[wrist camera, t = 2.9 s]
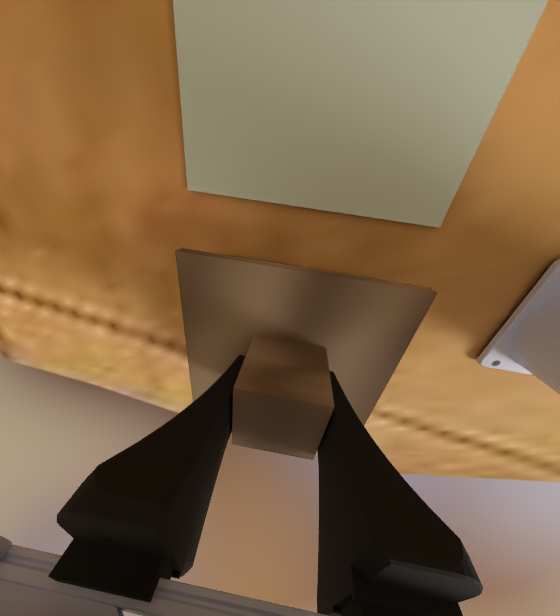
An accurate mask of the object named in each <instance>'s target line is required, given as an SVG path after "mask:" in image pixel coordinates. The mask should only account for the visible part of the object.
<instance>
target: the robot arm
mask: <svg viewBox="0 0 560 616" xmlns="http://www.w3.org/2000/svg"><path fill="white" fill-rule="evenodd" d="M245 357H246V356H244V355H239V356H238V357H237V358H236V359H235V360H234V362H233V363H232V364H231V365H230V366H229V368H228V369H227V370H226V371H225V372H224V373H223V374H222V375H221V376H220V377H219V378H218V379H217V380H216V382H215V383H214V384H212V385H211V386H210V387H209V388H208V389H207V390H206V391H205V392H204V393H203V394H202V395H201V396H200V397H199V398H197V399H196V400H195V401H194V402H193V403H192V404H190V405H189V406H188V407H187V408H185V409H184V410H183V411H182V412H180V413H179V414H178V415H176V416H175V417H174V418H173V419H171V420H170V421H168V422H167V423H166V424H164V425H163V426H161V427H160V428H158V429H157V430H155V431H154V432H152V433H151V434H149V435H148V436H146V437H145V438H143V439H142V440H140V441H139V442H137V443H135V444H134V445H132V446H130V447H129V448H127V449H125V450H124V451H122V452H120V453H118V454H117V455H115V456H113V457H112V458H110V459H108V460H107V461H105V462H103V463H101V464H100V465H98V466H97V467H96V469H95V470H94V471H93V472H92V473H91V474H90V475H89V476H88V477H87V478H86V480H85V481H84V482H83V483H82V484H81V485H80V487H79V488H78V489H77V490H76V492H75V493H74V494H73V495H72V497H71V498H70V499H69V500H68V502H67V503H66V504H65V506H64V507H63V508H62V509H61V510H60V512H59V513H58V514H57V523H58V524H59V525H60V526H61V527H62V528H63V529H64V530H65V531H66V532H67V533H68V534H70V535H71V536H72V537H73V538H74V539H73V541H72V542H71V543H70V545H69V547H68V548H67V549H66V551H65V552H64V554H63V555H62V556H61V555H57V554H52V553H47V552H43V551H39V550H34V549H30V548H25V547H21V546H17V545H12V542H11V541H9V540H8V539H6V538H4V537H2V536H0V616H124V615H123V612H122V611H125V612H130V613H134V614H138V615H143V616H463V615H462V612H461V610H460V607H459V604H458V602H461V601H464V600H467V599H470V598H473V597H476V596H478V595H480V594H481V592H482V589H483V586H482V584H481V582H480V580H479V578H478V576H477V573H476V571H475V569H474V566H473V564H472V562H471V560H470V557H469V555H468V553H467V552H466V550H465V548H464V546H463V544H462V542H461V540H460V538H459V537H458V536H457V535H456V534H455V533H454V532H453V531H452V530H451V529H450V528H449V527H448V526H447V525H446V524H445V523H444V522H443V521H442V520H441V519H440V518H439V517H438V516H437V515H436V514H435V513H434V512H433V511H432V510H431V509H430V508H429V507H428V506H427V505H426V503H425V502H424V501H423V500H422V499H421V498H420V497H419V496H418V495H417V493H416V492H415V491H414V490H413V489H412V488H411V487H410V486H409V484H408V483H407V482H406V481H405V480H404V479H403V477H402V476H401V475H400V474H399V472H398V471H397V470H396V469H395V468H394V466H393V465H392V464H391V463H390V462H389V460H388V459H387V458H386V456H385V455H384V454H383V452H382V451H381V450H380V449H379V447H378V446H377V444H376V443H375V442H374V440H373V439H372V437H371V436H370V435H369V433H368V432H367V430H366V429H365V427H364V426H363V424H362V422H361V421H360V419H359V418H358V416H357V414H356V413H355V411H354V409H353V408H352V406H351V404H350V402H349V401H348V399H347V397H346V395H345V393H344V391H343V389H342V388H341V386H340V384H339V382H338V380H337V377H336V375H335V373H334V372H333V371H329V372H330V379H331V386H332V393H333V400H334V410H333V412H332V415H331V417H330V419H329V422H328V424H327V427H326V429H325V432H324V434H323V437H322V439H321V442H320V444H319V447H318V449H317V450H318V463H319V552H318V587H317V613H315V612H310V611H306V610H302V609H297V608H293V607H288V606H284V605H279V604H275V603H271V602H266V601H262V600H257V599H252V598H248V597H244V596H239V595H235V594H230V593H226V592H222V591H217V590H213V589H208V588H203V587H199V586H195V585H190V584H186V583H181V582H177V581H172V580H170V578H171V577H173V578H178V579H179V578H180V577H181V576H183V575H184V574H185V573H187V572H188V571H189V570H190V569H191V567H192V566H193V562H194V559H195V555H196V551H197V548H198V544H199V540H200V536H201V532H202V529H203V525H204V521H205V518H206V514H207V510H208V507H209V503H210V500H211V496H212V493H213V489H214V485H215V481H216V479H217V475H218V471H219V468H220V465H221V461H222V458H223V455H224V451H225V448H226V445H227V442H228V439H229V437H230V434H231V432H232V417H233V388H234V385H235V383H236V380H237V377H238V375H239V372H240V370H241V367H242V365H243V362H244V359H245ZM477 362H478V363H479V364H480V365H481V366H484V367H489V368H495V369H501V370H507V371H512V372H518V373H524V374H530V375H534V376H536V377H537V378H538V379H540V380H541V381H542V382H544V383H545V384H546V385H548V386H549V387H550V388H552V389H553V390H554V391H556V392H557V393H558V394H560V259H558V260H556V261H555V262H554V263H553V264H552V265H551V266H550V267H549V268H548V270H547V271H546V272H545V273H544V275H543V276H542V277H541V278H540V280H539V281H538V282H537V284H536V285H535V286H534V287H533V289H532V290H531V291H530V292H529V294H528V295H527V296H526V297H525V299H524V300H523V301H522V302H521V304H520V305H519V306H518V308H517V309H516V310H515V311H514V313H513V314H512V315H511V316H510V318H509V319H508V320H507V321H506V323H505V324H504V325H503V326H502V328H501V329H500V330H499V332H498V333H497V334H496V335H495V337H494V338H493V339H492V340H491V342H490V343H489V344H488V345H487V347H486V348H485V349H484V351H483V352H482V353H481V354H480V356H479V357H478V359H477Z"/></svg>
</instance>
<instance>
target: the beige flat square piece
mask: <svg viewBox="0 0 560 616" xmlns="http://www.w3.org/2000/svg"><path fill="white" fill-rule="evenodd" d="M547 2H548V0H173V10H174V23H175V36H176V49H177V62H178V74H179V87H180V100H181V113H182V126H183V139H184V152H185V165H186V178H187V190H190V191H197V192H204V193H210V194H217V195H224V196H231V197H237V198H244V199H251V200H257V201H264V202H271V203H278V204H284V205H291V206H298V207H304V208H311V209H318V210H324V211H331V212H338V213H345V214H351V215H358V216H365V217H371V218H378V219H385V220H391V221H398V222H405V223H412V224H418V225H425V226H432V227H438V228H440V226H441V224H442V222H443V220H444V218H445V216H446V214H447V212H448V210H449V207H450V205H451V203H452V201H453V199H454V197H455V195H456V193H457V191H458V189H459V187H460V184H461V182H462V180H463V178H464V176H465V174H466V172H467V170H468V168H469V166H470V163H471V161H472V159H473V157H474V155H475V153H476V151H477V149H478V147H479V145H480V143H481V140H482V138H483V136H484V134H485V132H486V130H487V128H488V126H489V124H490V122H491V120H492V117H493V115H494V113H495V111H496V109H497V107H498V105H499V103H500V101H501V99H502V97H503V94H504V92H505V90H506V88H507V86H508V84H509V82H510V80H511V78H512V76H513V73H514V71H515V69H516V67H517V65H518V63H519V61H520V59H521V57H522V55H523V53H524V50H525V48H526V46H527V44H528V42H529V40H530V38H531V36H532V34H533V32H534V30H535V27H536V25H537V23H538V21H539V19H540V17H541V15H542V13H543V11H544V9H545V6H546V4H547Z"/></svg>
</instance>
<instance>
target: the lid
mask: <svg viewBox="0 0 560 616" xmlns="http://www.w3.org/2000/svg"><path fill="white" fill-rule="evenodd" d="M175 253H176V261H177V270H178V278H179V287H180V295H181V304H182V312H183V321H184V329H185V338H186V346H187V355H188V363H189V372H190V380H191V388H192V397H193V402H194V401H195V400H196V399H197V398H199V397H200V396H201V395H202V394H203V393H204V392H205V391H206V390H207V389H208V388H209V387H210V386H211V385H212V384H214V383H215V382H216V380H217V379H218V378H219V377H220V376H221V375H222V374H223V373H224V372H225V371H226V370H227V369H228V368H229V366H230V365H231V364H232V363H233V362H234V360H235V359H236V358H237V357H238V356H239V355H244V356H246V357H245V359H244V362H243V365H242V367H241V370H240V372H239V375H238V377H237V380H236V383H235V385H234V388H233V417H232V444H234V445H240V446H244V447H249V448H254V449H259V450H264V451H270V452H274V453H280V454H285V455H290V456H295V457H300V458H306V459H310V460H313V459H314V457H315V454H316V452H317V449H318V447H319V444H320V442H321V439H322V437H323V434H324V432H325V429H326V427H327V424H328V422H329V419H330V417H331V415H332V412H333V410H334V400H333V393H332V386H331V379H330V372H329V371H333V372H334V373H335V375H336V377H337V380H338V382H339V384H340V386H341V388H342V389H343V391H344V393H345V395H346V397H347V399H348V401H349V402H350V404H351V406H352V408H353V409H354V411H355V413H356V414H357V416H358V418H359V419H360V421H361V422H362V424H363V426H364V425H365V423H366V421H367V419H368V418H369V416H370V414H371V412H372V410H373V409H374V407H375V405H376V403H377V401H378V400H379V398H380V396H381V394H382V392H383V391H384V389H385V387H386V385H387V383H388V381H389V380H390V378H391V376H392V374H393V372H394V371H395V369H396V367H397V365H398V363H399V362H400V360H401V358H402V356H403V354H404V353H405V351H406V349H407V347H408V345H409V344H410V342H411V340H412V338H413V336H414V334H415V333H416V331H417V329H418V327H419V325H420V324H421V322H422V320H423V318H424V316H425V315H426V313H427V311H428V309H429V307H430V306H431V304H432V302H433V300H434V298H435V296H436V295H437V292H435V291H434V290H432V289H431V288H427V287H421V286H415V285H409V284H402V283H396V282H390V281H384V280H377V279H371V278H365V277H359V276H352V275H346V274H340V273H334V272H327V271H321V270H315V269H309V268H302V267H296V266H290V265H284V264H277V263H271V262H265V261H259V260H252V259H246V258H240V257H234V256H227V255H221V254H215V253H209V252H203V251H196V250H190V249H184V248H182V249H179V250H176V251H175Z"/></svg>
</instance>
